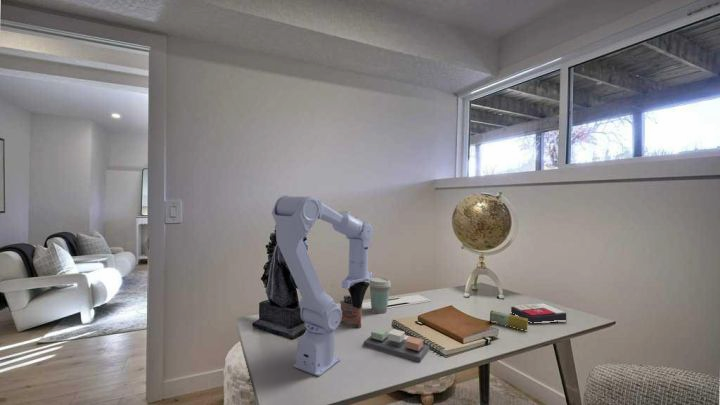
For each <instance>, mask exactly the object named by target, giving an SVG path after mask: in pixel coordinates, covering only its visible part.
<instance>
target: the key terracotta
mask: <svg viewBox="0 0 720 405" xmlns="http://www.w3.org/2000/svg"><path fill="white" fill-rule="evenodd" d="M423 344H424V340H423V339H422V338H418V337H414V336H411V337H410V338H409V339H408V340H407V341H406V348H409V349H413V350H416V351H419V350H420V349H421V348H422V346H423Z"/></svg>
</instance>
